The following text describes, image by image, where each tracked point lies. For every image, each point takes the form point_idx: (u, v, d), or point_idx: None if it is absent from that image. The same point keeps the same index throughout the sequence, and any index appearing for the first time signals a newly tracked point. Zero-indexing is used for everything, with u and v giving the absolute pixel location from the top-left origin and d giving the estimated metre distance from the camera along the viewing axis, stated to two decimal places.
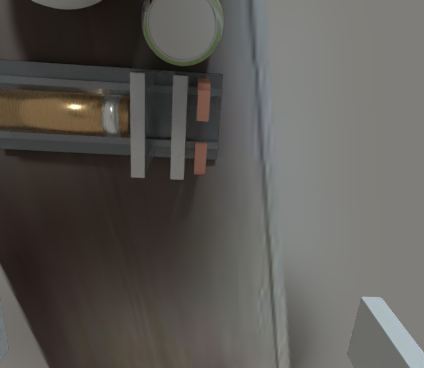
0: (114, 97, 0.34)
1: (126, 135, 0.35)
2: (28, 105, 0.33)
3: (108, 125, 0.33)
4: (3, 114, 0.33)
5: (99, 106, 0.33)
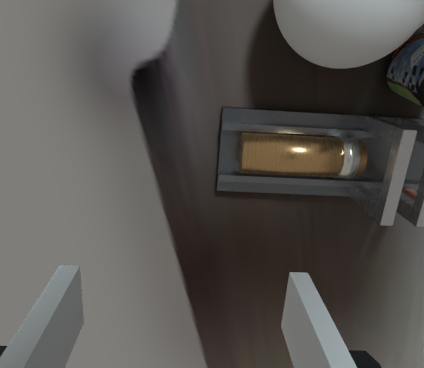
0: (350, 139, 0.35)
1: (359, 175, 0.35)
2: (276, 146, 0.34)
3: (349, 164, 0.34)
4: (252, 155, 0.34)
5: (341, 147, 0.34)
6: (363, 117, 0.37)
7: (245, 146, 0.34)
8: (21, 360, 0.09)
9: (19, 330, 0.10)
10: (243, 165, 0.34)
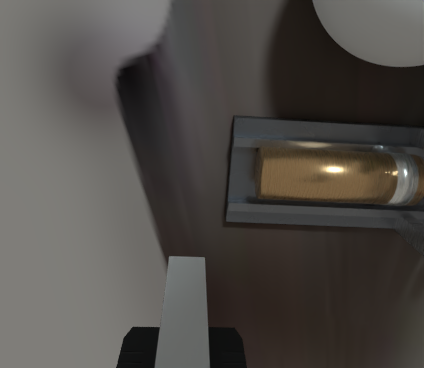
0: (401, 154, 0.27)
1: (417, 201, 0.27)
2: (307, 161, 0.25)
3: (404, 185, 0.26)
4: (275, 173, 0.25)
5: (392, 162, 0.26)
6: (416, 129, 0.28)
7: (266, 162, 0.25)
8: (178, 337, 0.11)
9: (163, 312, 0.12)
10: (263, 187, 0.26)
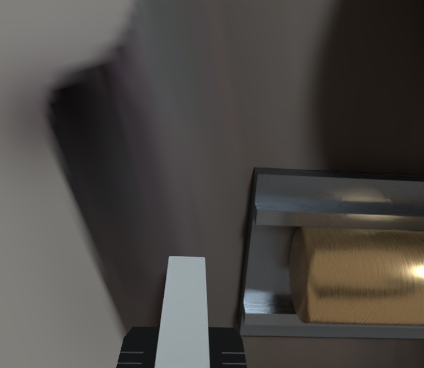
0: None
1: None
2: (396, 264, 0.14)
3: None
4: (339, 289, 0.13)
5: None
6: None
7: (321, 266, 0.13)
8: (178, 337, 0.11)
9: (163, 312, 0.12)
10: (316, 313, 0.14)
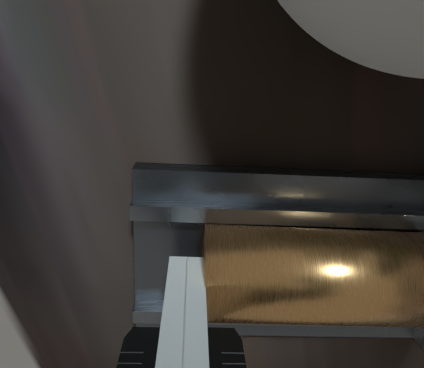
0: None
1: None
2: (288, 263, 0.13)
3: None
4: (227, 288, 0.13)
5: None
6: None
7: (209, 265, 0.13)
8: (178, 337, 0.11)
9: (163, 312, 0.12)
10: None
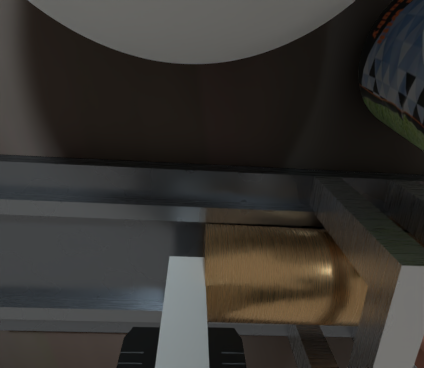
0: None
1: None
2: (289, 262, 0.13)
3: None
4: (227, 287, 0.13)
5: None
6: (309, 178, 0.16)
7: (209, 264, 0.13)
8: (178, 337, 0.11)
9: (163, 312, 0.12)
10: None
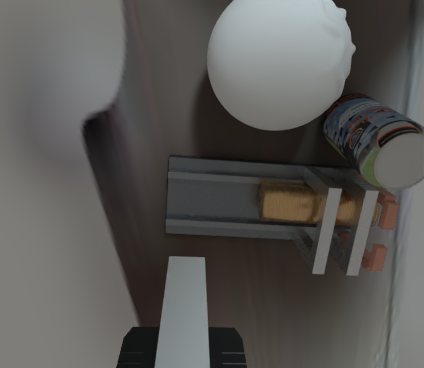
0: None
1: (373, 223, 0.38)
2: (295, 194, 0.36)
3: None
4: (273, 202, 0.36)
5: None
6: (303, 167, 0.39)
7: (267, 194, 0.36)
8: (178, 337, 0.11)
9: (163, 312, 0.12)
10: (265, 212, 0.36)
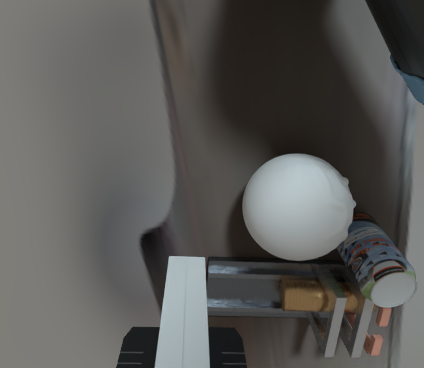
0: None
1: (372, 312, 0.47)
2: (310, 292, 0.46)
3: None
4: (293, 299, 0.46)
5: None
6: (315, 265, 0.49)
7: (287, 293, 0.46)
8: (178, 337, 0.11)
9: (163, 312, 0.12)
10: (286, 307, 0.46)
